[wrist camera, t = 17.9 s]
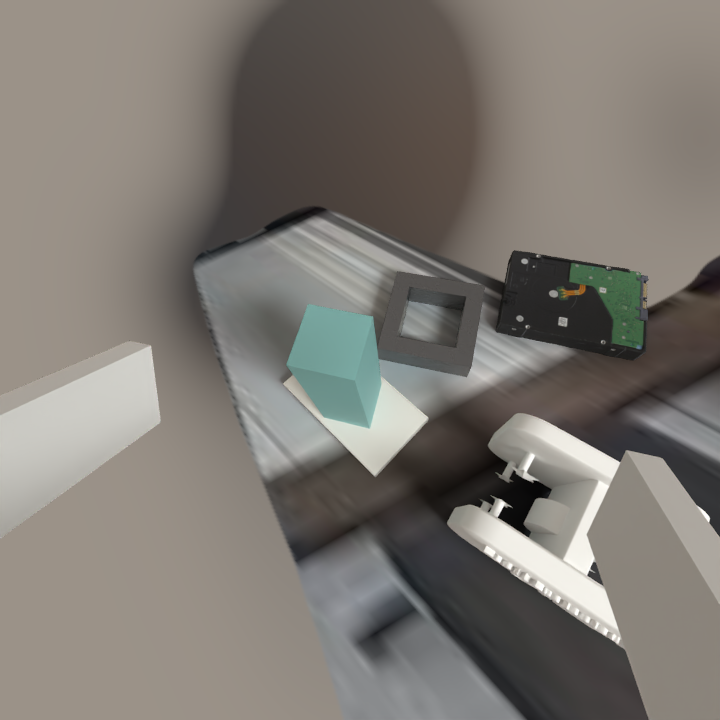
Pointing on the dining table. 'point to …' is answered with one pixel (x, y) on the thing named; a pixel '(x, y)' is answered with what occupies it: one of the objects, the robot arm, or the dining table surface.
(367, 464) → the off-white pad
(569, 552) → the cable organizer
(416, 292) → the socket block
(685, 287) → the dining table surface
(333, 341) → the teal peg
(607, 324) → the disk drive
